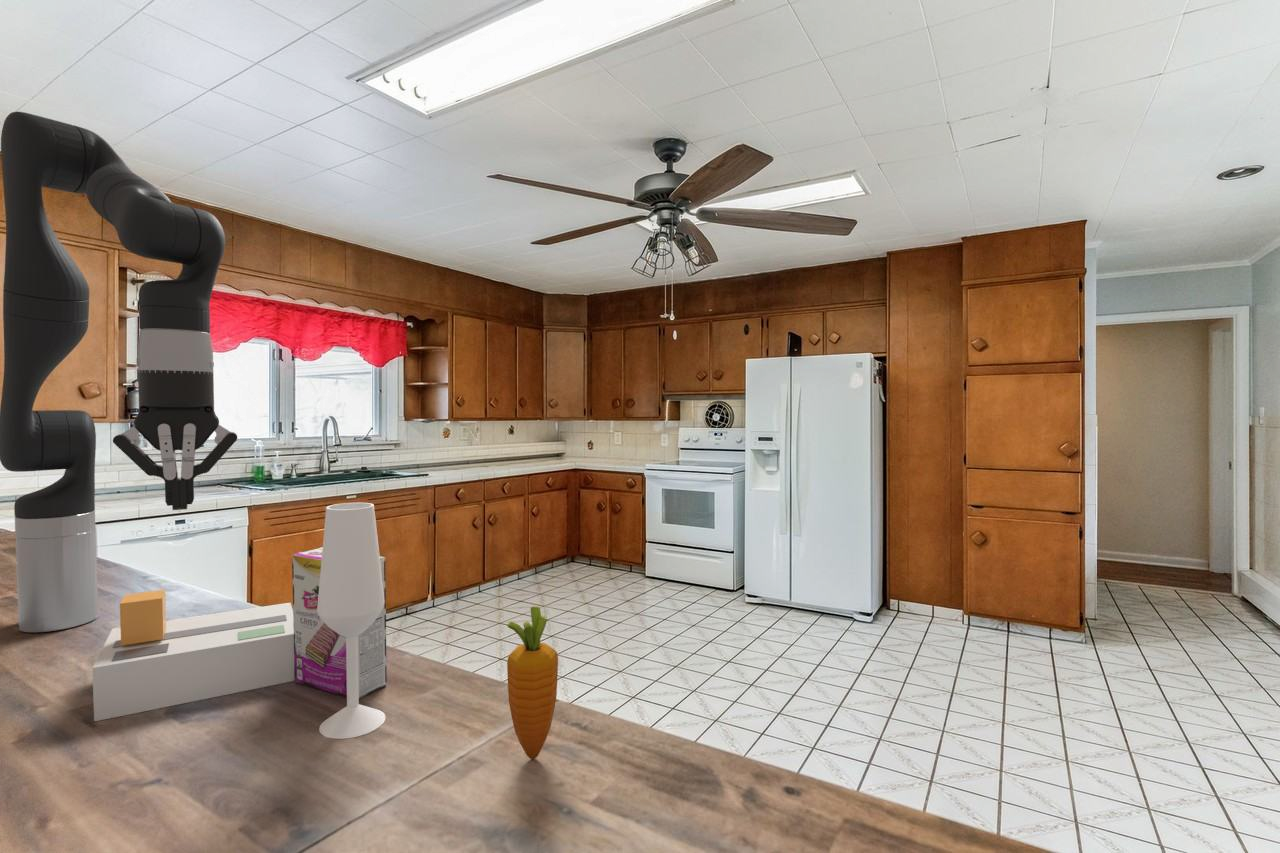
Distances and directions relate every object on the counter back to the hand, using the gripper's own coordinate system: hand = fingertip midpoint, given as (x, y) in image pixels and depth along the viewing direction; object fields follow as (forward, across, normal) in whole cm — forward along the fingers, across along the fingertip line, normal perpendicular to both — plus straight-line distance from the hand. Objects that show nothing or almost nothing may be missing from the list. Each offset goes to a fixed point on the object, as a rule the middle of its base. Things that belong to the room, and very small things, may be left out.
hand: (179, 508), depth 79 cm
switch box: (+22, -2, 0) cm, 22 cm away
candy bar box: (+22, -16, +12) cm, 30 cm away
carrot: (+22, -30, +40) cm, 54 cm away
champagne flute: (+22, -16, +22) cm, 35 cm away
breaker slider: (+15, +4, 0) cm, 16 cm away
